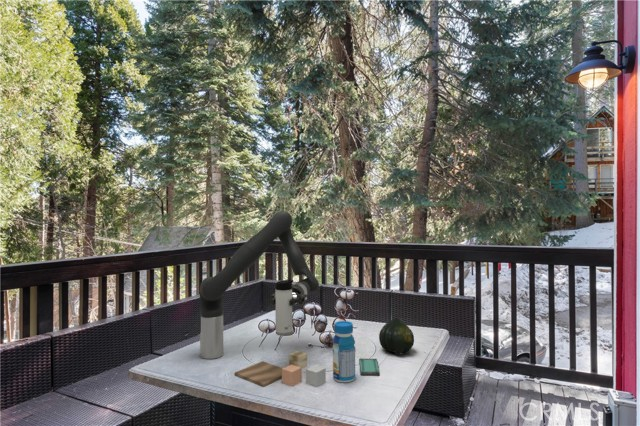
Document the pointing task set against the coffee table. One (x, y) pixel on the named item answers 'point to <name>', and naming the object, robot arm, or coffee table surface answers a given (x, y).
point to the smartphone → (369, 367)
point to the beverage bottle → (343, 352)
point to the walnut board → (261, 373)
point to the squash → (396, 337)
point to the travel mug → (283, 307)
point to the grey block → (315, 375)
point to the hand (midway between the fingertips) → (281, 302)
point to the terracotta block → (291, 375)
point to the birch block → (298, 359)
